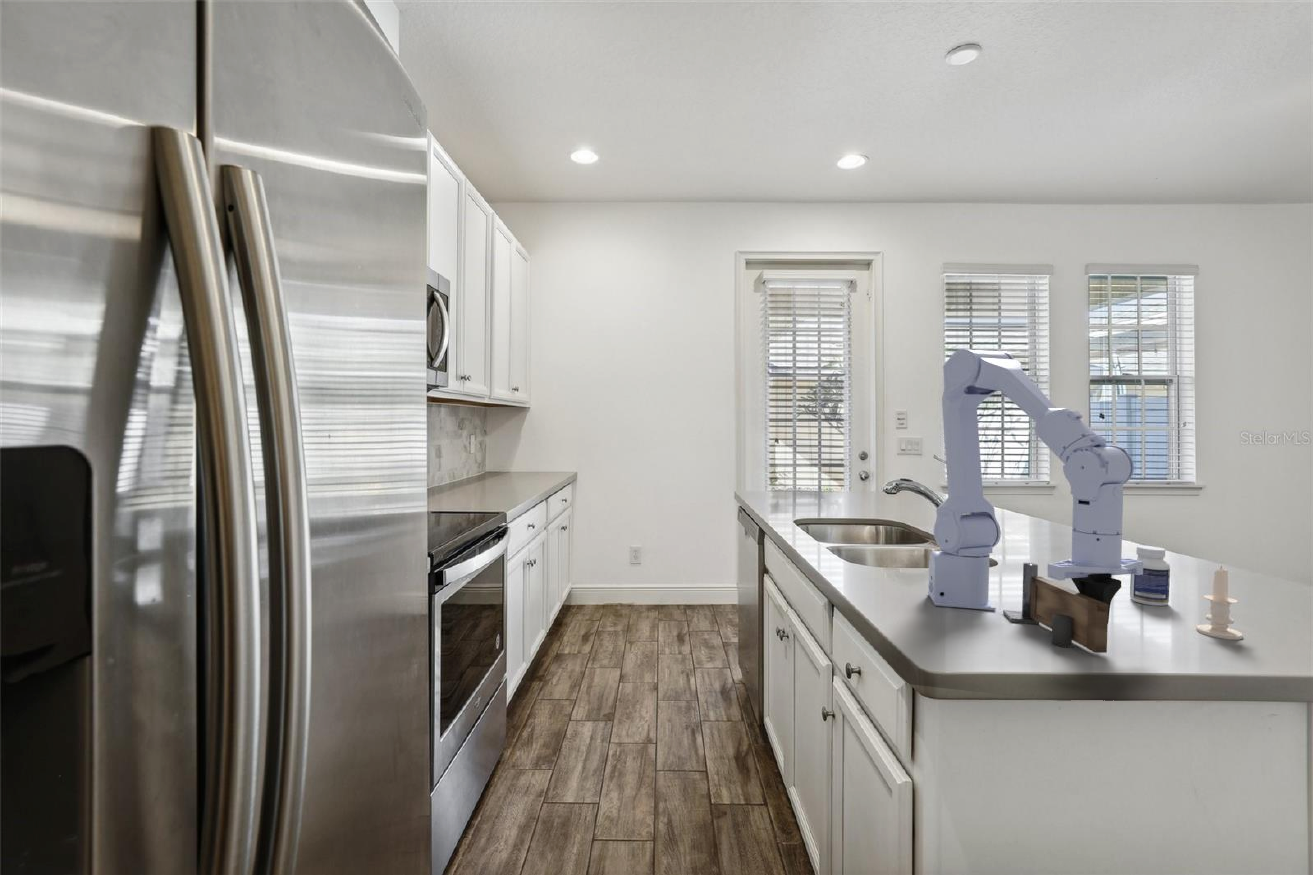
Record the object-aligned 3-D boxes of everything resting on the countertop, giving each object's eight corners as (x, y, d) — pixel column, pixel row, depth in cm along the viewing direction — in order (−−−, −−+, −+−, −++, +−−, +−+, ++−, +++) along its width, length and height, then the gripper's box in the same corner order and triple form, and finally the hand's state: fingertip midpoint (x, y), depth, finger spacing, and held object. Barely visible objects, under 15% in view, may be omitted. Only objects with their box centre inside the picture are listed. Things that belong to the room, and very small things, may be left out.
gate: (1029, 617, 97) (1030, 576, 97) (1039, 617, 97) (1040, 576, 97) (1094, 652, 83) (1096, 604, 83) (1106, 652, 83) (1108, 604, 83)
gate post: (1011, 622, 97) (1012, 566, 97) (1003, 613, 102) (1004, 559, 101) (1040, 624, 96) (1042, 567, 96) (1031, 615, 101) (1033, 561, 100)
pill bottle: (1176, 607, 106) (1177, 551, 105) (1140, 605, 107) (1142, 550, 106) (1157, 598, 111) (1159, 545, 111) (1123, 596, 112) (1125, 543, 112)
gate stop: (1055, 646, 87) (1056, 618, 87) (1049, 640, 89) (1049, 613, 89) (1074, 648, 86) (1075, 620, 86) (1067, 642, 89) (1068, 614, 89)
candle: (1188, 630, 94) (1191, 563, 94) (1207, 626, 96) (1209, 560, 96) (1231, 642, 90) (1234, 571, 89) (1250, 637, 92) (1252, 568, 91)
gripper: (1080, 539, 81) (1078, 640, 81) (1166, 534, 84) (1163, 632, 84) (1035, 529, 88) (1033, 623, 88) (1117, 525, 91) (1114, 616, 91)
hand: (1094, 626), depth 87 cm, fingers closed, pressing on gate
